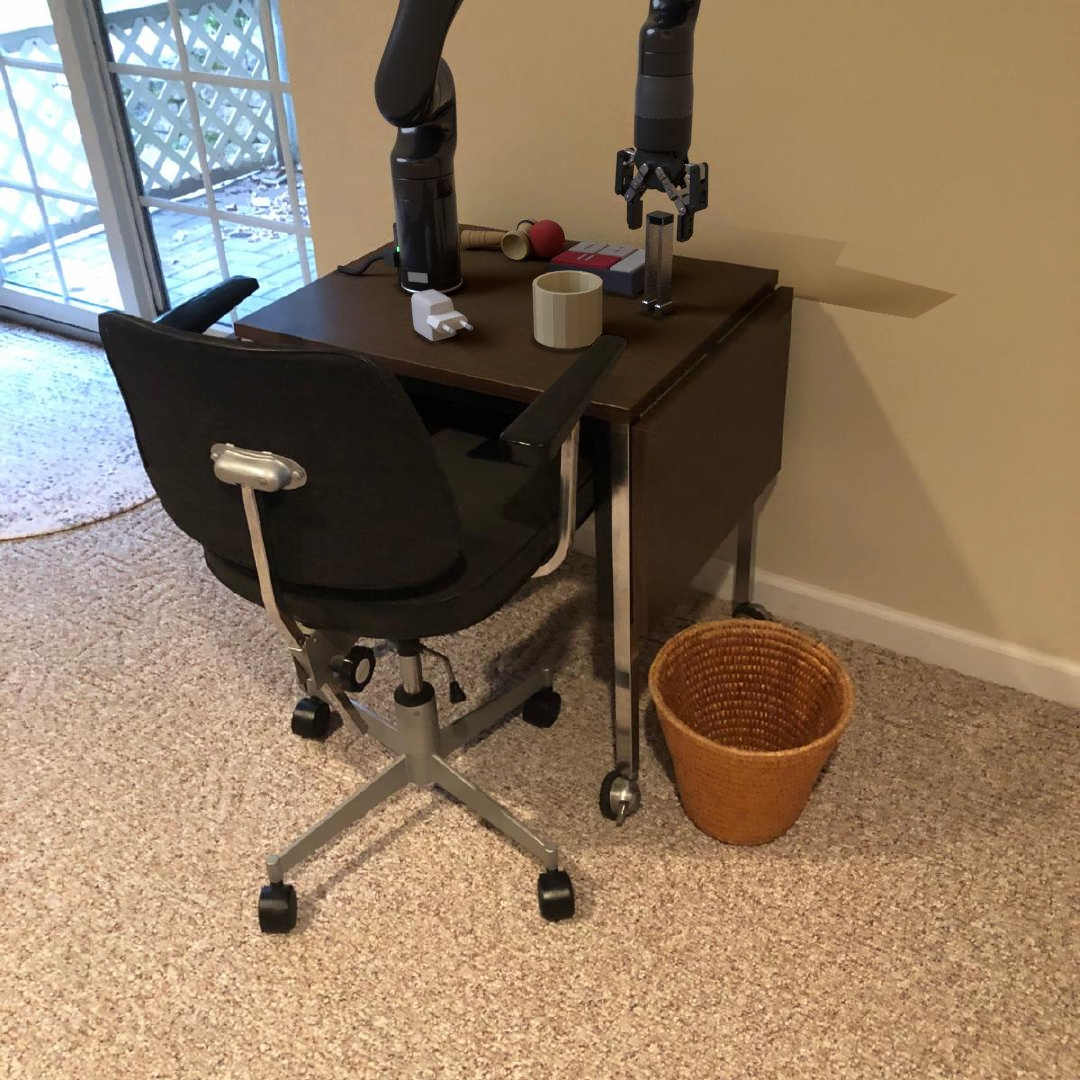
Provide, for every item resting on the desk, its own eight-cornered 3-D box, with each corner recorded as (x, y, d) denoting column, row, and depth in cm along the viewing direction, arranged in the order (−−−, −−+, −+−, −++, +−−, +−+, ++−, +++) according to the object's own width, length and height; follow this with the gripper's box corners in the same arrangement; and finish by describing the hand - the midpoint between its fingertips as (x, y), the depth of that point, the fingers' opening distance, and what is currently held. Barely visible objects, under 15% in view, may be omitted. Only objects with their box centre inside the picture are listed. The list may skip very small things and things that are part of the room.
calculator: (581, 238, 171) (666, 247, 164) (583, 265, 173) (666, 275, 166) (545, 258, 163) (632, 268, 156) (547, 286, 165) (633, 297, 158)
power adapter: (480, 350, 144) (478, 308, 140) (449, 359, 141) (446, 317, 138) (439, 325, 151) (436, 285, 148) (409, 333, 149) (405, 293, 146)
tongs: (641, 313, 153) (643, 213, 145) (654, 308, 155) (657, 209, 147) (659, 319, 151) (663, 218, 143) (672, 313, 153) (676, 213, 145)
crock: (520, 340, 146) (518, 283, 142) (567, 320, 152) (567, 265, 147) (569, 358, 141) (568, 299, 136) (616, 337, 146) (617, 280, 142)
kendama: (455, 264, 177) (555, 260, 170) (451, 224, 175) (551, 219, 168) (476, 258, 184) (573, 254, 176) (472, 220, 182) (570, 214, 174)
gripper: (726, 112, 136) (717, 238, 145) (640, 98, 144) (637, 218, 153) (688, 122, 131) (682, 252, 140) (602, 107, 140) (601, 230, 149)
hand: (658, 234), depth 147 cm, fingers open, 8 cm apart
